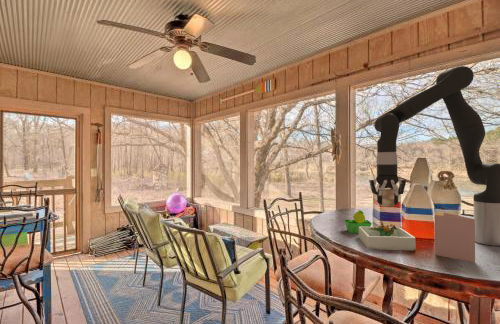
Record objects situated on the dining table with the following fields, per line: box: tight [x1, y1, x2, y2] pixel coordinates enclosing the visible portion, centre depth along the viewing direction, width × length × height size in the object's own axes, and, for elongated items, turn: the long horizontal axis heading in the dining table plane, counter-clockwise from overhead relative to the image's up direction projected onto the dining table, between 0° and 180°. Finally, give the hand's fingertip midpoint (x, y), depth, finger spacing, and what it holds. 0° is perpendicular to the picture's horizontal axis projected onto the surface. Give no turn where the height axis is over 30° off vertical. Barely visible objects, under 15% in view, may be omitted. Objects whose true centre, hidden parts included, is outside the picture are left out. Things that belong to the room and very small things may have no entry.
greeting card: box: [433, 212, 476, 263], centre depth 95 cm, size 11×7×15 cm, turn 12°
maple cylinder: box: [380, 188, 395, 208], centre depth 108 cm, size 5×5×7 cm
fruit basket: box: [344, 210, 372, 234], centre depth 130 cm, size 11×9×11 cm
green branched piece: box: [370, 220, 397, 237], centre depth 114 cm, size 3×12×8 cm, turn 85°
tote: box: [358, 226, 417, 251], centre depth 112 cm, size 18×16×5 cm
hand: (387, 204), depth 108 cm, fingers closed on maple cylinder, 5 cm apart
